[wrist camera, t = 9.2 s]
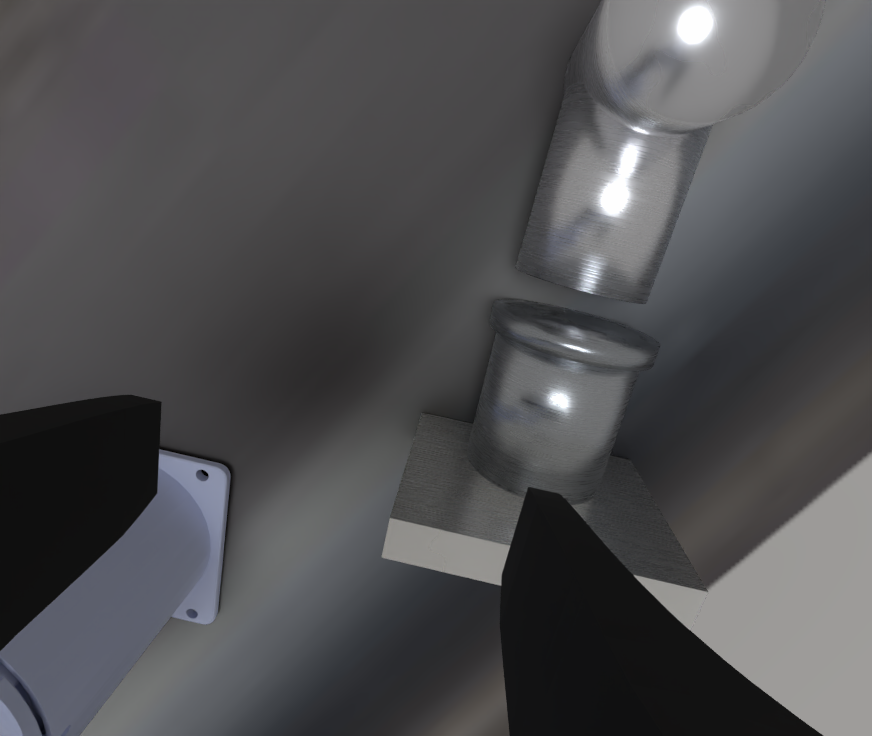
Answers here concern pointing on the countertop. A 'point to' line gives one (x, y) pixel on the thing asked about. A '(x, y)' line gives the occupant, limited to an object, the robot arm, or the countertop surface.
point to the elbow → (649, 129)
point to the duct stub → (540, 456)
